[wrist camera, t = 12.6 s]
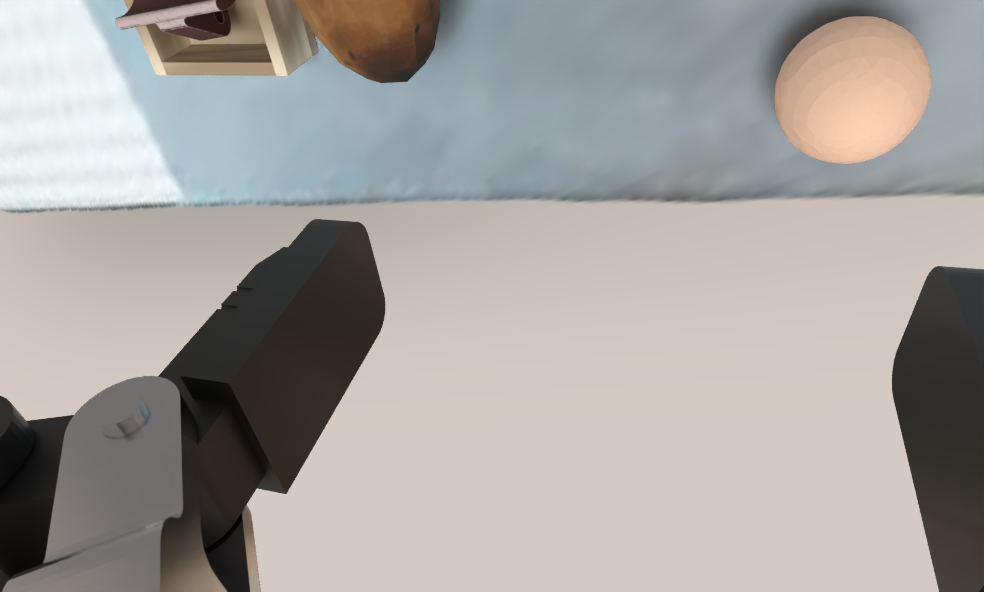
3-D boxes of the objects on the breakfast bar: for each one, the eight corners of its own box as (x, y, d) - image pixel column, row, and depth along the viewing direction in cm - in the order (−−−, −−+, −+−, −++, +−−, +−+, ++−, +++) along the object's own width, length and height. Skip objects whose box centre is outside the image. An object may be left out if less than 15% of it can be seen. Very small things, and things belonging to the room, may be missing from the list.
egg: (746, 53, 36) (749, 117, 30) (873, -35, 32) (905, 20, 26) (810, 143, 38) (824, 219, 32) (937, 72, 34) (979, 144, 28)
